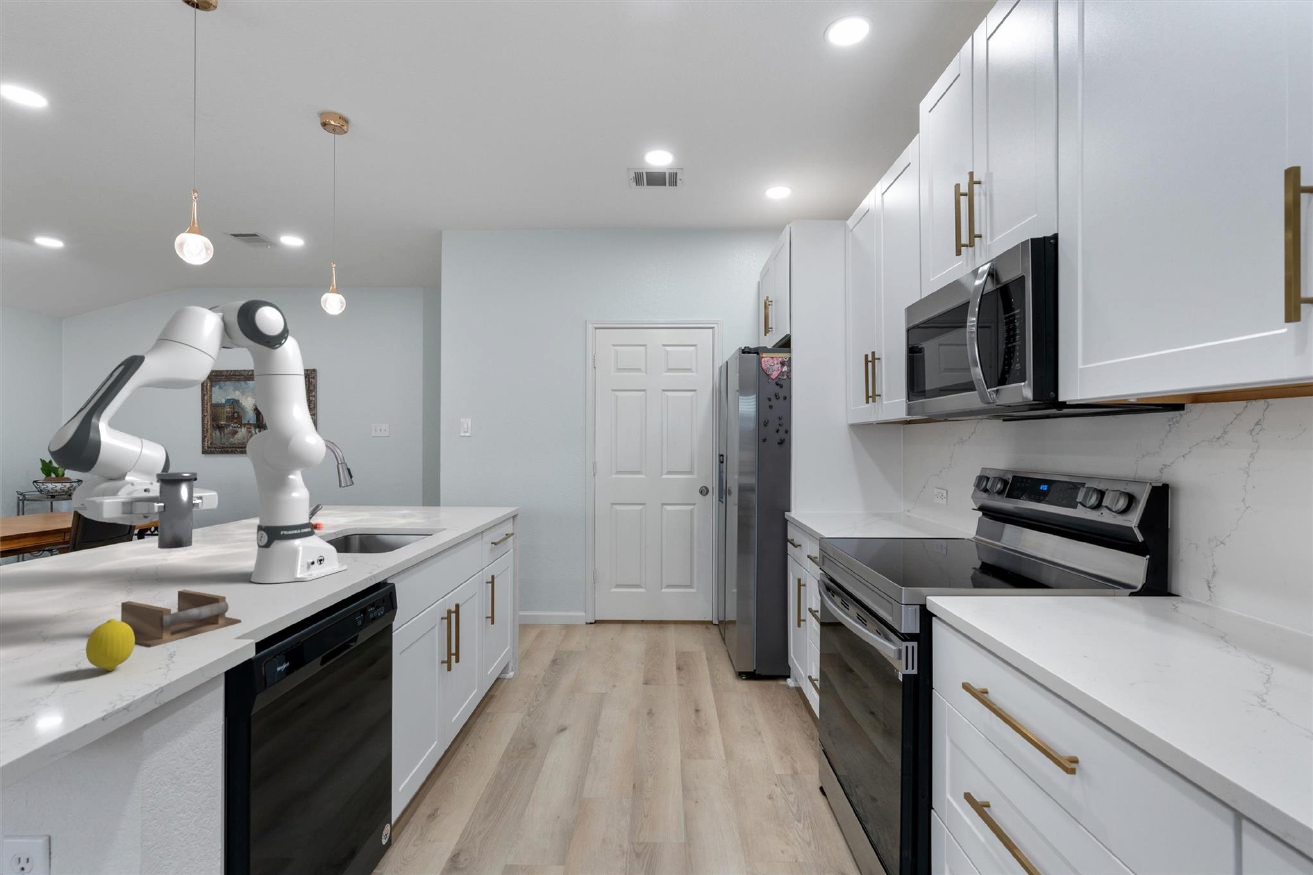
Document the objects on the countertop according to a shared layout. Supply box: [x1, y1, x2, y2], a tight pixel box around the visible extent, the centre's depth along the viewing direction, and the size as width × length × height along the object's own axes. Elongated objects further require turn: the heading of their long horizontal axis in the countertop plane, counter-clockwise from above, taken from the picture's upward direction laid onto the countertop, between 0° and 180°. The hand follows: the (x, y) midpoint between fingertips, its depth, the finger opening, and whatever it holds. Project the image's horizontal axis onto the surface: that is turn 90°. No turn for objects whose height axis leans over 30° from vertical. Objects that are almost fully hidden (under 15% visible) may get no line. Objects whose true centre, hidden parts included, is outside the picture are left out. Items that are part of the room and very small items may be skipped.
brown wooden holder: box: [120, 589, 242, 648], centre depth 110 cm, size 15×15×6 cm
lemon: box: [85, 618, 136, 672], centre depth 90 cm, size 6×6×8 cm
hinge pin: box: [156, 471, 198, 550], centre depth 110 cm, size 6×6×14 cm
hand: (179, 506), depth 110 cm, fingers closed on hinge pin, 5 cm apart
